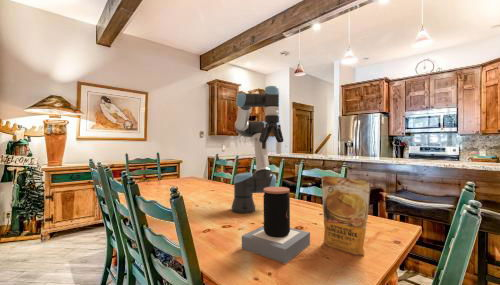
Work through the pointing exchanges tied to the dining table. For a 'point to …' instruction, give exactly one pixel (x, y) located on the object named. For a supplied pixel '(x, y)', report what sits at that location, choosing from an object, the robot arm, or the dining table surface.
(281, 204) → the coffee jar
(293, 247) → the stand
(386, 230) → the dining table surface
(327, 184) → the pancake mix bag
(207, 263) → the dining table surface
